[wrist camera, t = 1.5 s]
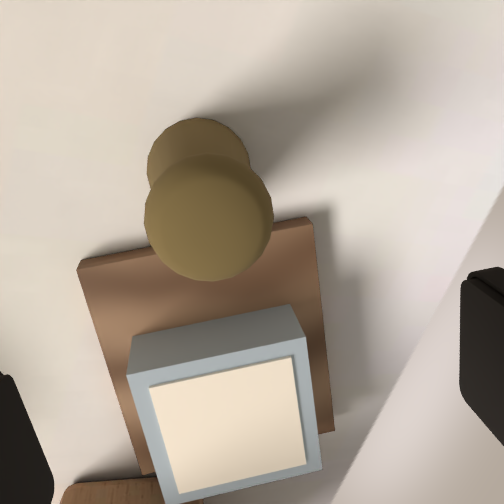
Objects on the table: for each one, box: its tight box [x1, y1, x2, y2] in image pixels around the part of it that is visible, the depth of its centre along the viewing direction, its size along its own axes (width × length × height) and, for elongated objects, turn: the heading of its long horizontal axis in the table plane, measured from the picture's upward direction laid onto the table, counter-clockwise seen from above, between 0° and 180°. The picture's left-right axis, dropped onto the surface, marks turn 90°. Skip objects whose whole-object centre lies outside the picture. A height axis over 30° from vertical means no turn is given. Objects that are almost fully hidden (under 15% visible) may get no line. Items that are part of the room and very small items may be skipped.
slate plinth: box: [126, 304, 322, 504], centre depth 30 cm, size 10×10×4 cm
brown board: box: [76, 217, 335, 475], centre depth 32 cm, size 16×14×2 cm
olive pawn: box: [144, 118, 274, 282], centre depth 23 cm, size 6×6×11 cm
